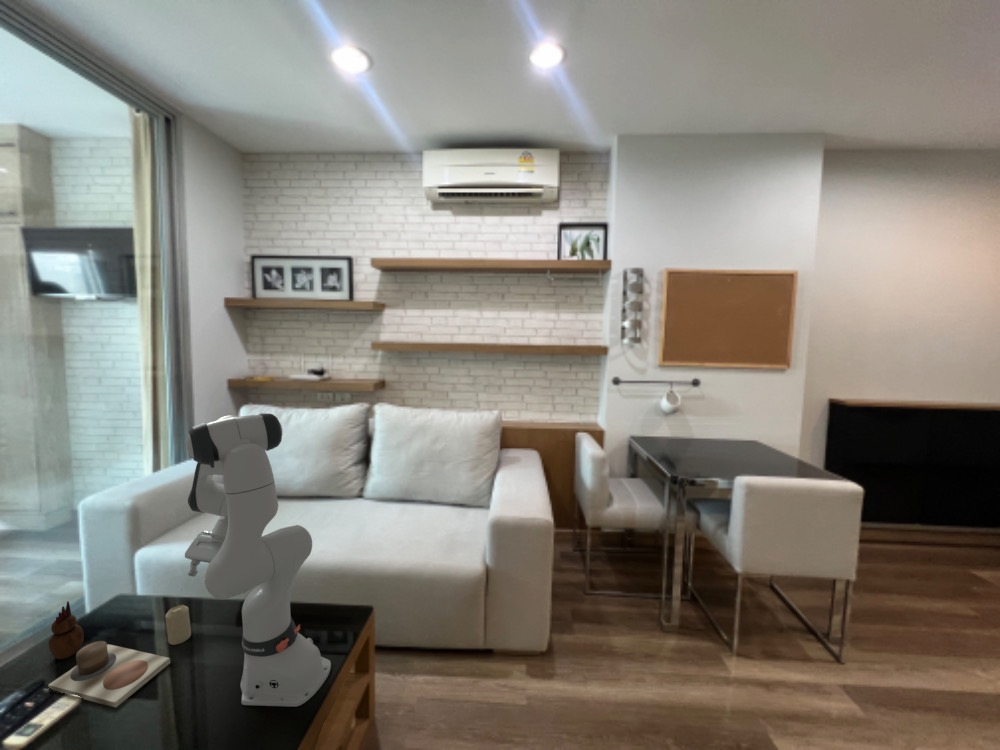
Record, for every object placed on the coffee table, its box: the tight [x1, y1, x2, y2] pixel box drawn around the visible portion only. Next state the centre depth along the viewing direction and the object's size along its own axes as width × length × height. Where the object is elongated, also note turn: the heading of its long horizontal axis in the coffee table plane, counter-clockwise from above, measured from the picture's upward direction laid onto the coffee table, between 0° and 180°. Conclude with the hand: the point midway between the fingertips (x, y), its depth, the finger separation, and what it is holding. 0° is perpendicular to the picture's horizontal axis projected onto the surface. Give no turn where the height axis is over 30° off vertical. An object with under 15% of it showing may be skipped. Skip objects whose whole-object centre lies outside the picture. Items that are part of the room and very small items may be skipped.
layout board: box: [47, 640, 171, 708], centre depth 114 cm, size 22×14×7 cm, turn 78°
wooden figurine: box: [48, 601, 85, 660], centre depth 121 cm, size 7×6×15 cm
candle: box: [164, 604, 192, 646], centre depth 127 cm, size 6×6×10 cm
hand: (203, 578), depth 135 cm, fingers open, 8 cm apart
